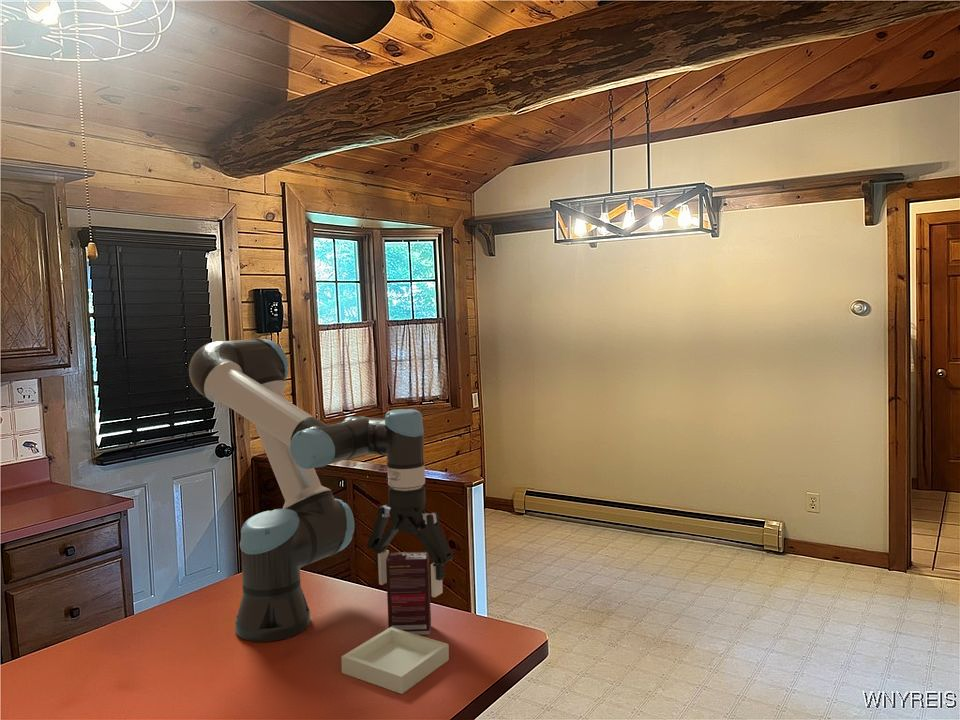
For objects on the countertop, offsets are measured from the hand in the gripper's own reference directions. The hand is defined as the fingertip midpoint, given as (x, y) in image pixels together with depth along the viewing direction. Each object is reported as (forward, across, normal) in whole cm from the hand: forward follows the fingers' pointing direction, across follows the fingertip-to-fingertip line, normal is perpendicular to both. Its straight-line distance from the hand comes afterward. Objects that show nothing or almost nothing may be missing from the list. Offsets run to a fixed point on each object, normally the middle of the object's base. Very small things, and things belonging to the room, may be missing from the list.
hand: (410, 588), depth 148 cm
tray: (+9, +6, -13) cm, 17 cm away
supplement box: (+9, 0, 0) cm, 9 cm away
